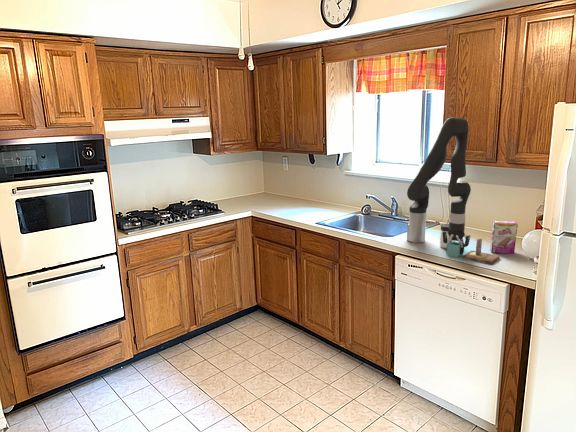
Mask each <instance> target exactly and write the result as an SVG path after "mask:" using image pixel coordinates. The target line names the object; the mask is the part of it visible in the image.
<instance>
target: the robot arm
mask: <svg viewBox="0 0 576 432" xmlns="http://www.w3.org/2000/svg"><path fill="white" fill-rule="evenodd" d="M468 136H469V122H468V120H467V119H466V118H463V117H449V118H447V119H446V120H444V123H443V125H442V126H441V128H440V131H439V134H438V136H437V138H436V140H435V142H434V144H433V146H432V148H431V150H430V152H429V153H428V154H427V157H426V158H425V160H424V162H423V164H422V166H421V168H419V169H420V170H419V171H418V173H417V175H416V176H415V178H414V179H413V181H412V182H411V184H410V185H409V186H408V188H407V192H406V195H407V198H408V199H409V200H410V201H413V203H412V204H411V205H410V206H409V211H408V213H409V215H408V217H409V218H408V224H407V226H406V228H407V229H406V241H408V242H410V243H415V244H419V243H420V244H421V243H425V241H426V227H427V226H426V224H427V209H428V208H429V200H430V188H429V186H428V185H427V183H428V182H429V181H430V180H432V179H433V178H434V177H435V176H436V175H437V174H438V173H439V172H440V171H441V169H442V168H443V166H444V164H445V163H446V160H447V146H448V144H449V142H450V140H452V137H455V141H456V145H455V148H454V152H453V153H452V155H451V158H450V179H449V183H448V187H447V192H448V195H449V196H450V197H457V198H458V197H459V198H458V199H456V200H453V201H452V202H451V203H450V214H449V221H448V224H449V231H448V232H447V231H444V232H443V242H444V243H446V244H448V243H450V242H452V240H456V242H459V244H460V246H461V247H460V254H463V255H464V253H465V248H467V247H468V246H469V244H470V240H471V235H470V234H468V235H467V234H466V233H465V228H466V227H465V226H466V208H467V203H468V200H469V198H470V197H469V196H470V194H471V190H472V189H471V188H472V187H471V184H469V182H458V180H460V179H462V178H465V177H466V176H467V168H466V166H467V163H466V154H467V144H468ZM447 235H449V236H450V238H449V239H448V241H447Z"/></svg>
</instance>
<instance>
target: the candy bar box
mask: <svg viewBox="0 0 576 432" xmlns="http://www.w3.org/2000/svg"><path fill="white" fill-rule="evenodd" d="M518 224H519V223H517V222H516V221H510V220H509V221H505V220H492V225H491V226H492V228H491V236H490V243H489V244H490V245H489V247H490V248H489V251H490V253H493V254H508V255H509V254H510V255H514V254H515V250H516V242H517V241H516V240H517V234H518V233H517V231H518V226H519V225H518Z"/></svg>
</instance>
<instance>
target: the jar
mask: <svg viewBox="0 0 576 432" xmlns="http://www.w3.org/2000/svg"><path fill="white" fill-rule="evenodd" d="M444 231H447V232H448V231H449V223H441V224H440V232H439V248H443V249H447V244H446V243H444V242H443V232H444ZM449 238H450V236H449V235H447V241H448V239H449ZM452 241H454V242H457V241H456V240H452Z"/></svg>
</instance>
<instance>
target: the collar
mask: <svg viewBox="0 0 576 432" xmlns="http://www.w3.org/2000/svg"><path fill="white" fill-rule="evenodd" d="M460 247H461V246H460V244H459V242H458V241H456V242H454V241H452V242H450V243H448V244H447V248H446V256H450V257H455V258H460V257H461V256H463V255H464V253H463V254H460Z"/></svg>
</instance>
